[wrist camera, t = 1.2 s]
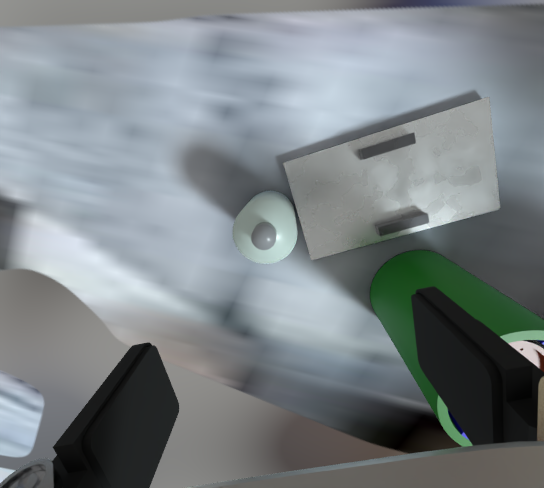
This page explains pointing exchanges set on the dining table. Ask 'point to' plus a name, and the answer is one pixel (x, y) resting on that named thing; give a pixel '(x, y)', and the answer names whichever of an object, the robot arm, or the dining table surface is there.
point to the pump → (266, 228)
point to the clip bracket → (397, 180)
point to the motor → (463, 291)
